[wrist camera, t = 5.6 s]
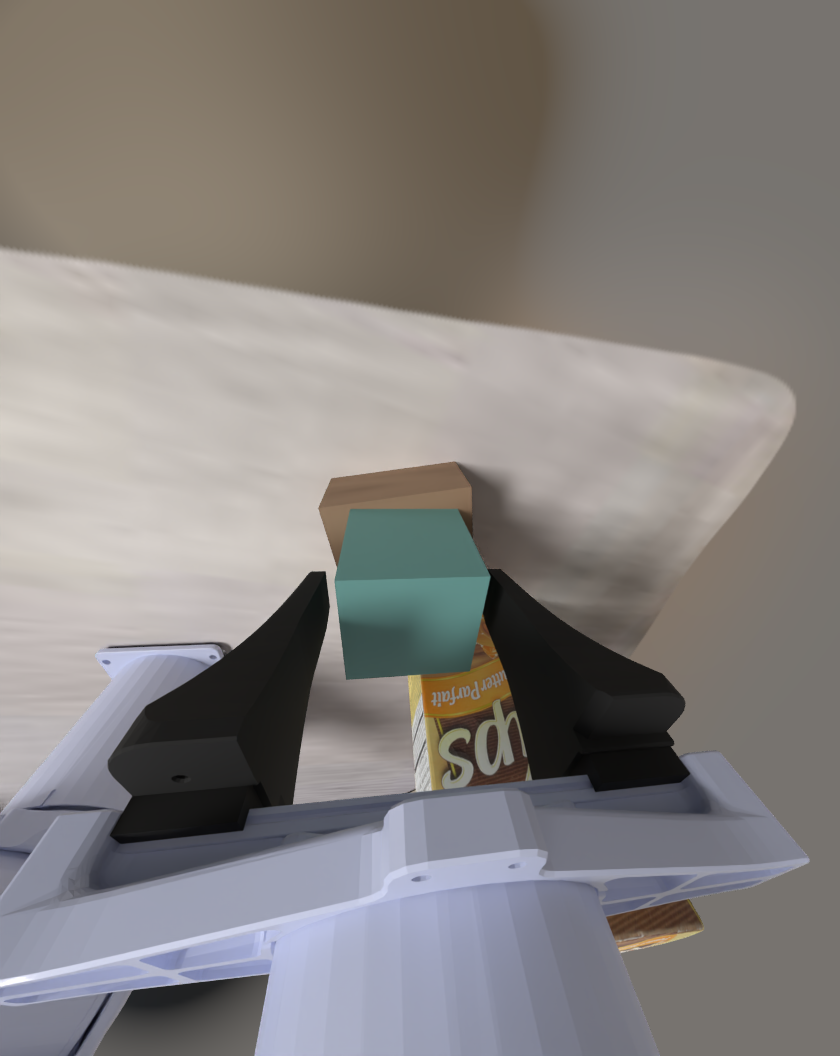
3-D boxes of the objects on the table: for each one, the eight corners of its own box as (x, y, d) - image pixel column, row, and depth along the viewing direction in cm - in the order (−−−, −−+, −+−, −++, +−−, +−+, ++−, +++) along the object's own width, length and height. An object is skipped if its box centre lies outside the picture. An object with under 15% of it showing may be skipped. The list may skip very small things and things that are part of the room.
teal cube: (447, 589, 17) (470, 671, 12) (356, 592, 16) (346, 679, 12) (457, 508, 14) (490, 576, 10) (350, 508, 13) (334, 580, 9)
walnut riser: (458, 558, 21) (473, 598, 17) (358, 573, 20) (352, 617, 17) (453, 460, 17) (471, 486, 14) (332, 477, 17) (318, 508, 13)
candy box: (524, 595, 23) (719, 930, 9) (508, 633, 25) (648, 952, 12) (410, 590, 21) (451, 975, 8) (403, 631, 23) (426, 991, 10)
